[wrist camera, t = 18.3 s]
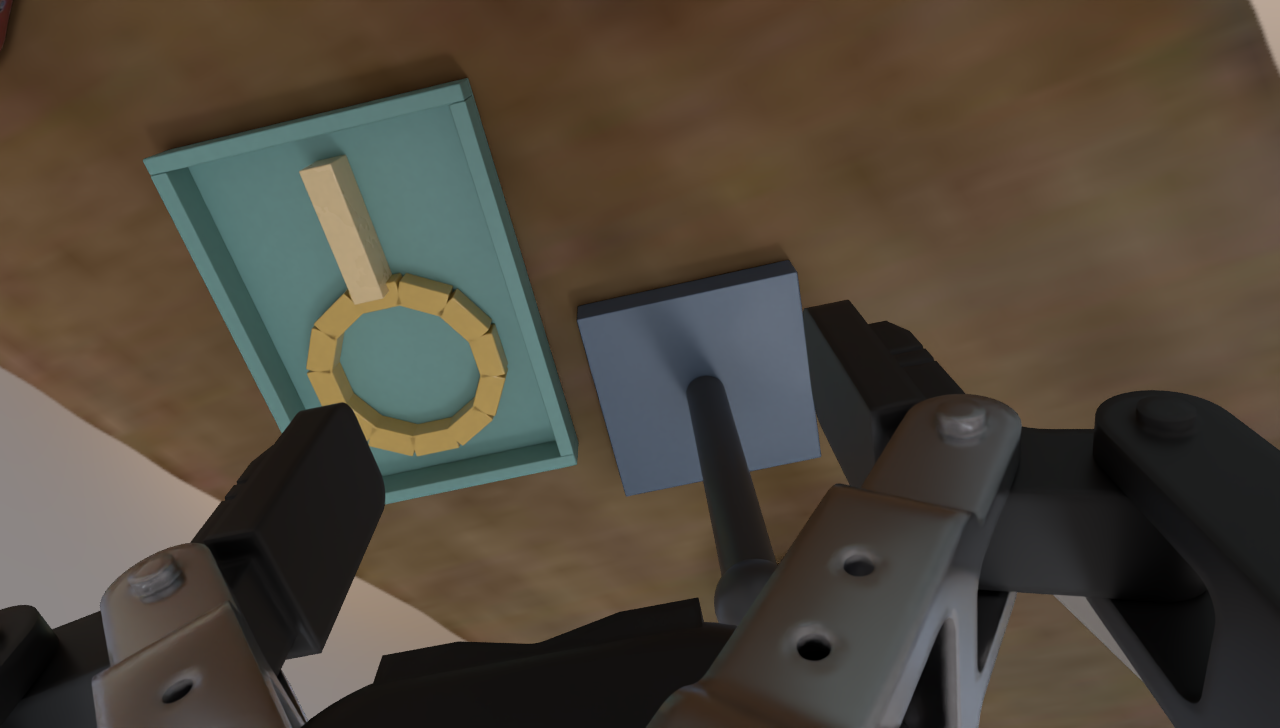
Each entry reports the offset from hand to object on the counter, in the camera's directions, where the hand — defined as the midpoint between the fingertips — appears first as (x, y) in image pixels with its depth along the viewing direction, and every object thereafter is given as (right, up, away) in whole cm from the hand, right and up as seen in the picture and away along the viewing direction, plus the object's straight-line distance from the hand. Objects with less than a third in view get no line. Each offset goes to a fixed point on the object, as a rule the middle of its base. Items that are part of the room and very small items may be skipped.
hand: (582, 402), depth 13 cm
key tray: (-13, +4, +29) cm, 32 cm away
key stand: (+5, 0, +31) cm, 32 cm away
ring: (-13, +4, +28) cm, 31 cm away
